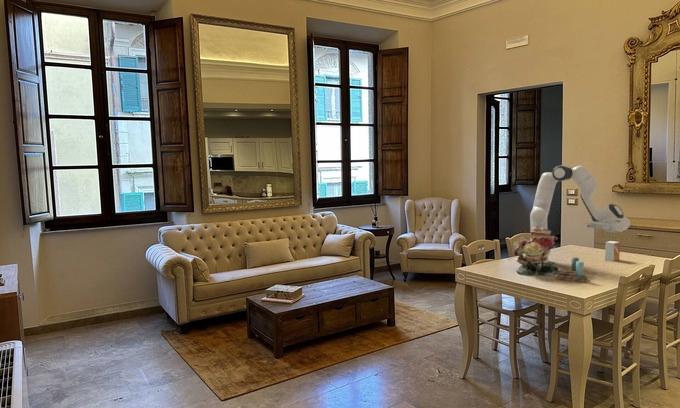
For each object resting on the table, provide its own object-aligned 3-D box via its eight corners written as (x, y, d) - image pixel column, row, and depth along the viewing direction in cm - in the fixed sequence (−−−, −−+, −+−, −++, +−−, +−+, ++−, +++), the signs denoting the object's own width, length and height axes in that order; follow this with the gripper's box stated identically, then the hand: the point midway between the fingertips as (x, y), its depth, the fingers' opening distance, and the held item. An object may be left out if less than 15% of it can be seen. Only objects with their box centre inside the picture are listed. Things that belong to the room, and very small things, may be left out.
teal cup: (558, 274, 299) (559, 258, 298) (559, 272, 305) (560, 255, 304) (580, 276, 293) (580, 259, 292) (580, 273, 299) (581, 257, 298)
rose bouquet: (511, 266, 324) (511, 223, 321) (558, 269, 313) (559, 224, 310) (510, 275, 300) (510, 228, 297) (560, 278, 289) (561, 229, 286)
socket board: (556, 279, 285) (556, 275, 285) (558, 276, 294) (558, 272, 294) (586, 282, 278) (586, 278, 277) (587, 278, 286) (587, 274, 286)
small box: (613, 261, 332) (614, 243, 331) (604, 260, 337) (605, 242, 336) (619, 260, 336) (620, 241, 335) (610, 258, 342) (611, 240, 341)
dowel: (575, 280, 283) (576, 262, 282) (575, 279, 286) (576, 261, 286) (583, 281, 281) (583, 263, 280) (583, 279, 285) (583, 261, 284)
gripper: (594, 218, 310) (580, 220, 304) (625, 222, 292) (610, 223, 286) (594, 228, 311) (580, 229, 305) (624, 232, 293) (610, 234, 287)
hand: (595, 226), depth 295 cm, fingers open, 8 cm apart
